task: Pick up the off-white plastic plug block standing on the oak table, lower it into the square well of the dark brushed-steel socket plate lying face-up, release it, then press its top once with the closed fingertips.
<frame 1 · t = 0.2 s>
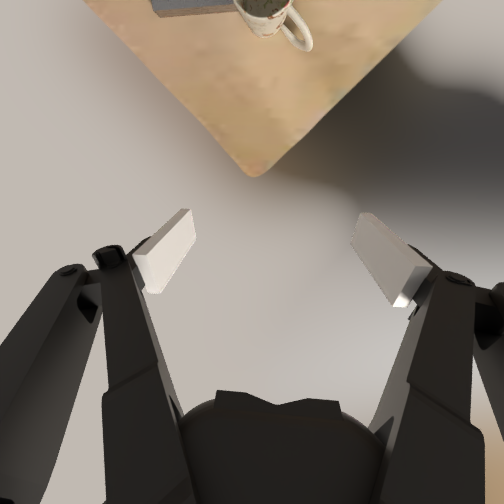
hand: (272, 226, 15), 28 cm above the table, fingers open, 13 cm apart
mug: (277, 21, 28), on the table
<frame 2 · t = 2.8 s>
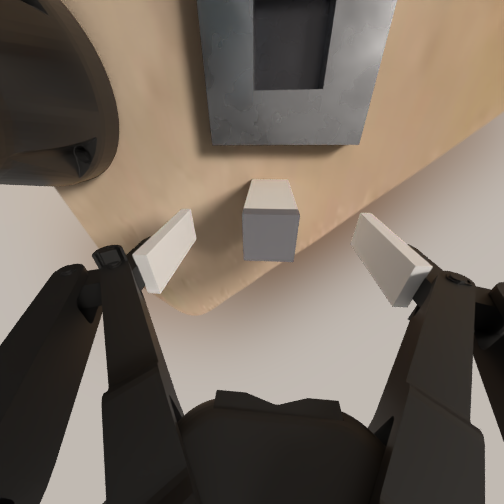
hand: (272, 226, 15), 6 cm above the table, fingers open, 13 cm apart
socket plate: (288, 49, 14), on the table
plug: (269, 196, 20), on the table
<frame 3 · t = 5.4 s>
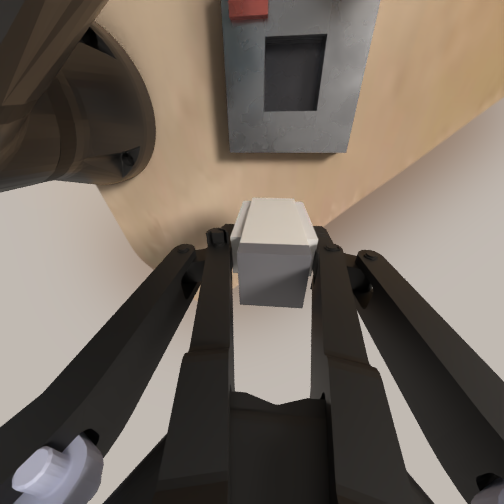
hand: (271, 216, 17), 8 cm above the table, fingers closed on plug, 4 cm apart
socket plate: (290, 81, 19), on the table
plug: (271, 217, 18), point 8 cm above the table, touching gripper
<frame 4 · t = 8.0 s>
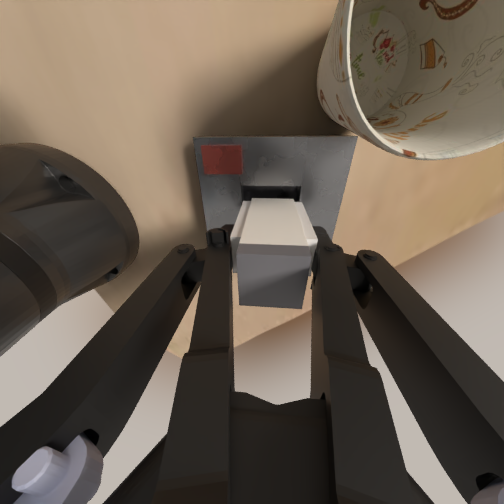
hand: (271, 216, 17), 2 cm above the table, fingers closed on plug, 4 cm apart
socket plate: (269, 206, 19), on the table
mug: (388, 39, 13), on the table
plug: (271, 217, 18), point 2 cm above the table, touching gripper
when the fingers open (2 cm above the table, at t = 9.5 s): plug drops 2 cm, resting on socket plate.
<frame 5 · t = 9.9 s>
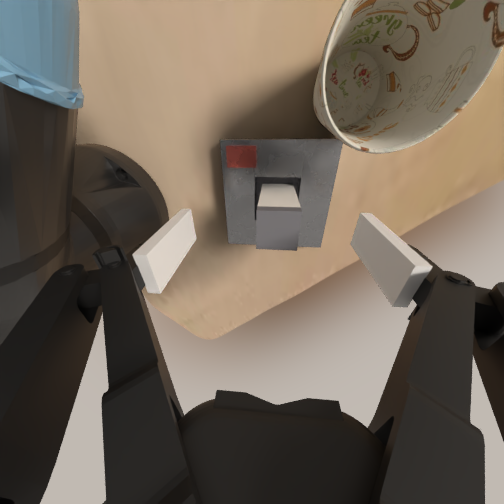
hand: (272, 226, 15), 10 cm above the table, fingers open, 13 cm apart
socket plate: (276, 195, 24), on the table
mug: (365, 69, 17), on the table
plug: (276, 199, 24), resting on socket plate
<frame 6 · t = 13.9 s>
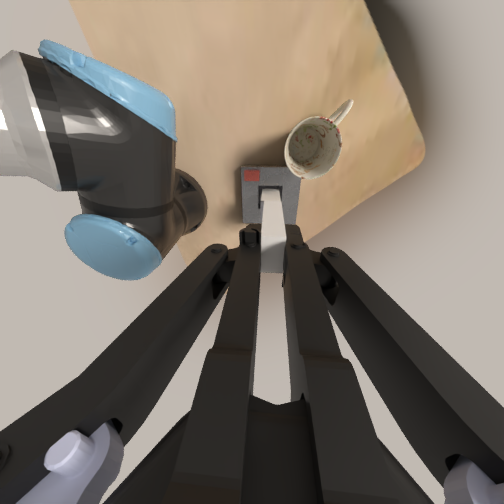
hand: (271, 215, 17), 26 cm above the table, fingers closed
socket plate: (270, 194, 43), on the table
mug: (311, 134, 36), on the table
plug: (270, 197, 43), resting on socket plate
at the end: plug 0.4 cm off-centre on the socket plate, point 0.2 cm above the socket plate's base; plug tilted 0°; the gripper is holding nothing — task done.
